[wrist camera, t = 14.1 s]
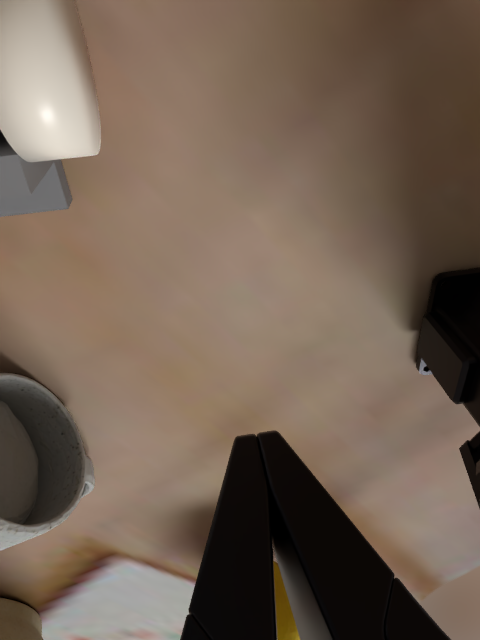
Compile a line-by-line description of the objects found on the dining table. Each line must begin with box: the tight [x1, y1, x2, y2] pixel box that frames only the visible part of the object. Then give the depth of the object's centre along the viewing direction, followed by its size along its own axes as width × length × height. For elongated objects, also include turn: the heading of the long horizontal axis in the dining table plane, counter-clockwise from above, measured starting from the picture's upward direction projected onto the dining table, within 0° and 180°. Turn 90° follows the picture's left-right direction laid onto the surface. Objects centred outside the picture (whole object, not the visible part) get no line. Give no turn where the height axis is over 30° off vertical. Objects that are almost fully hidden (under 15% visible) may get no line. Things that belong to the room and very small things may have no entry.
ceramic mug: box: [0, 373, 95, 551], centre depth 23 cm, size 11×8×8 cm
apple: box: [273, 561, 300, 640], centre depth 34 cm, size 6×6×8 cm
